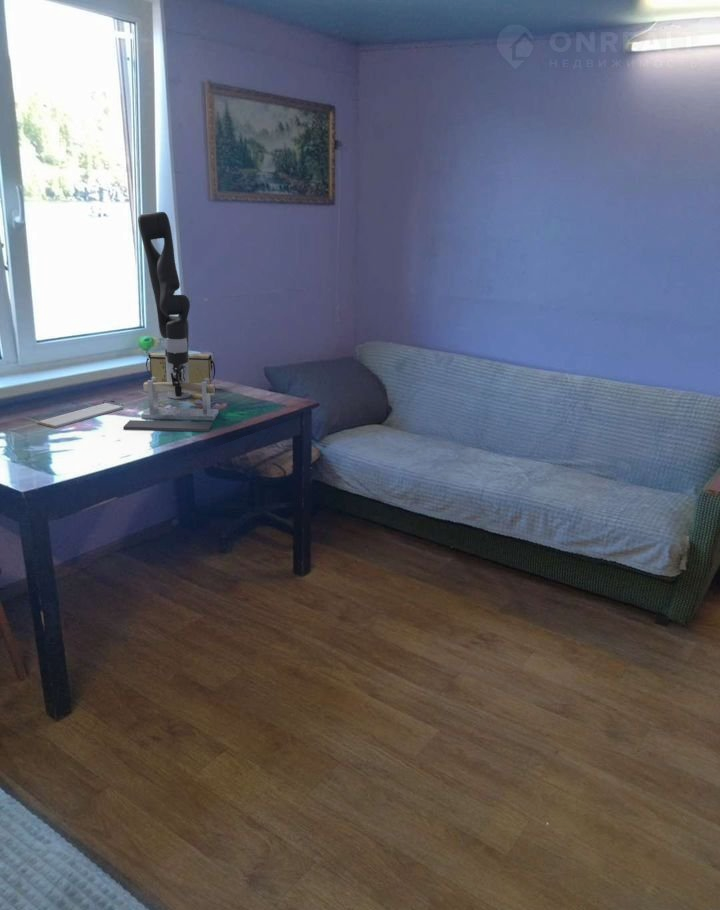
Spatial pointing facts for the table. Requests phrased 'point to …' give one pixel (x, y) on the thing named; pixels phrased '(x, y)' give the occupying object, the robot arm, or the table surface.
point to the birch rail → (184, 388)
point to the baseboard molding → (80, 415)
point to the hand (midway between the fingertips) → (179, 394)
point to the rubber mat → (168, 425)
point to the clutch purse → (197, 367)
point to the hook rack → (179, 413)
